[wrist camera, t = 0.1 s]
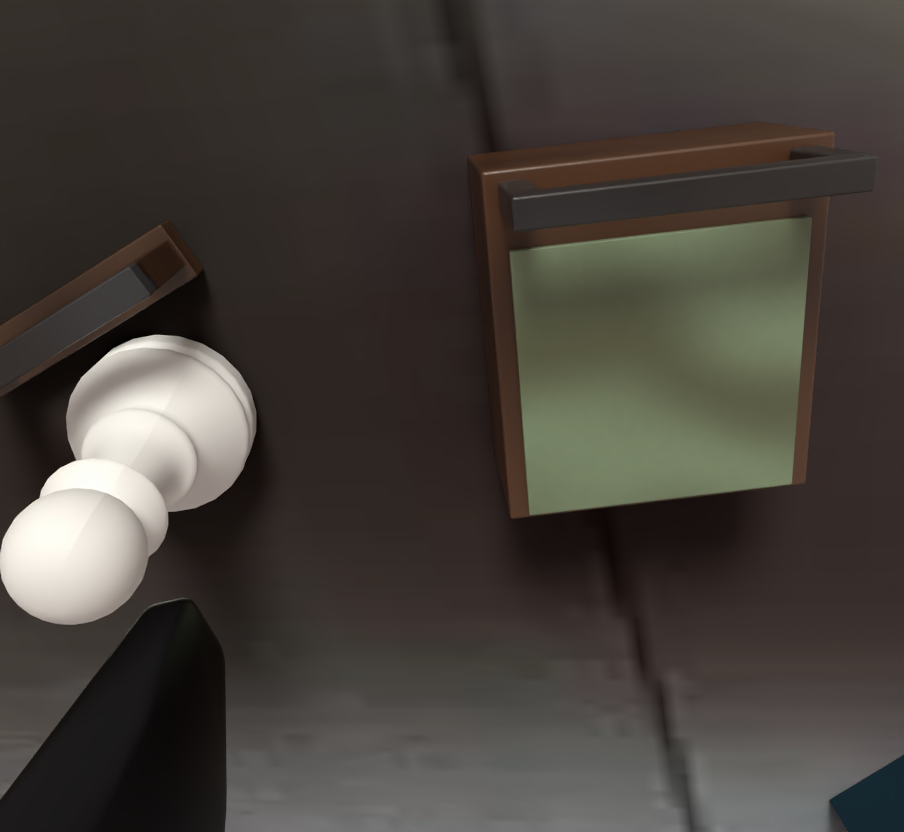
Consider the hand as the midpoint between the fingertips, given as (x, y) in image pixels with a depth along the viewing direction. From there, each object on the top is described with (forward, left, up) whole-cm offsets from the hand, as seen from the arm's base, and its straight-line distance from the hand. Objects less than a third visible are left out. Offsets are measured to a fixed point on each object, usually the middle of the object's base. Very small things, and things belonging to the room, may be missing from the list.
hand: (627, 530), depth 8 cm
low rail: (-7, +9, -15) cm, 19 cm away
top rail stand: (0, -4, -15) cm, 16 cm away
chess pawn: (-9, +6, -16) cm, 19 cm away
